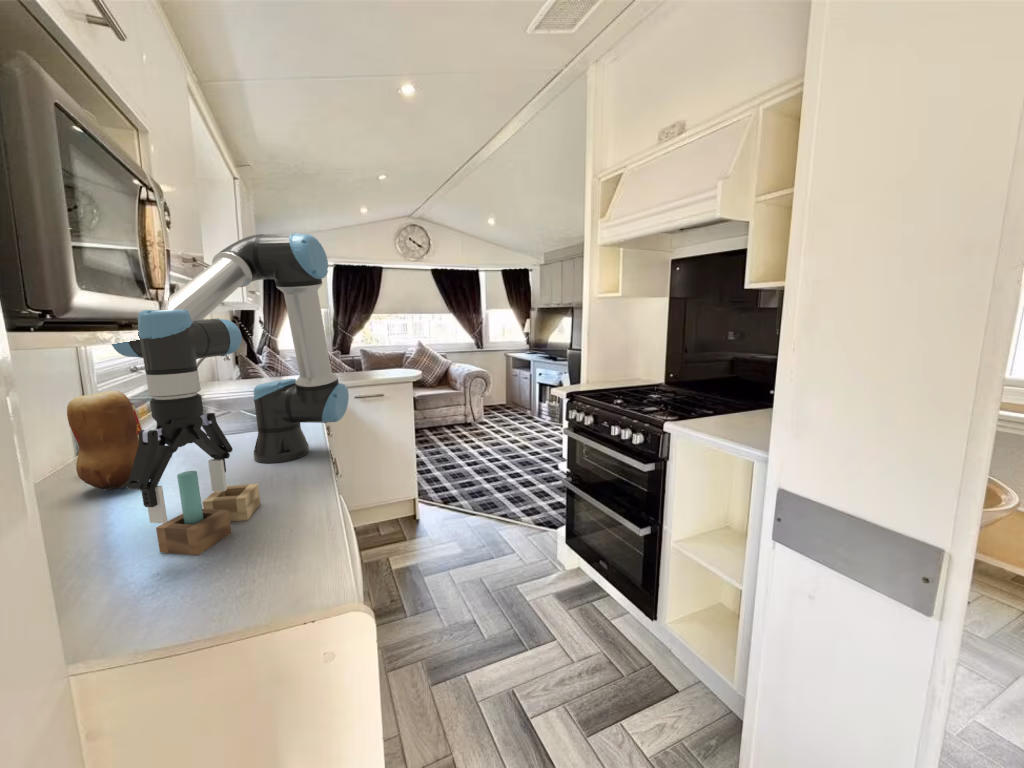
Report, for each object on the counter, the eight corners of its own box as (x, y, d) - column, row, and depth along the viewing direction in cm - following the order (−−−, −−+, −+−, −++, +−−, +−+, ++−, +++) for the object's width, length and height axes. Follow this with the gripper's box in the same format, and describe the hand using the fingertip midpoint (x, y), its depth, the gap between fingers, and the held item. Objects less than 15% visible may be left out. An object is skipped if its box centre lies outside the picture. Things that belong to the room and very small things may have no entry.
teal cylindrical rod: (196, 538, 86) (187, 470, 84) (210, 539, 86) (200, 471, 84) (183, 546, 83) (172, 476, 81) (197, 547, 83) (187, 477, 81)
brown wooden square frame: (196, 531, 89) (192, 508, 88) (231, 533, 88) (228, 510, 87) (160, 552, 81) (155, 527, 80) (198, 555, 80) (194, 529, 79)
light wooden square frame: (221, 507, 100) (219, 486, 99) (260, 504, 101) (257, 483, 101) (205, 524, 92) (202, 501, 91) (247, 519, 94) (245, 497, 93)
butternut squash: (81, 488, 112) (62, 392, 108) (148, 473, 121) (134, 384, 117) (81, 504, 102) (61, 399, 98) (154, 487, 112) (139, 391, 107)
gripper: (212, 383, 92) (224, 479, 96) (83, 410, 68) (106, 537, 72) (244, 383, 91) (255, 480, 95) (125, 411, 67) (147, 539, 71)
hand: (191, 505), depth 83 cm, fingers open, 13 cm apart
